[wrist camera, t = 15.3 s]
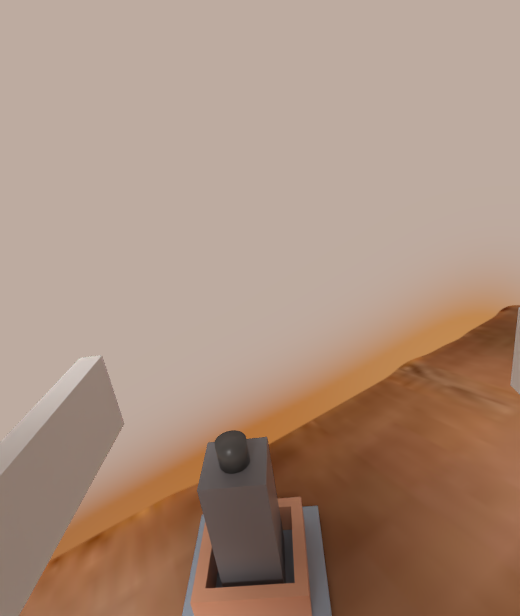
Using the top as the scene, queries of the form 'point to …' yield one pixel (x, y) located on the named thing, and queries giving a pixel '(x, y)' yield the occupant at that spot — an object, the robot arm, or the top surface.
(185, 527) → the top surface
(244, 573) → the bottle
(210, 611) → the end holder
